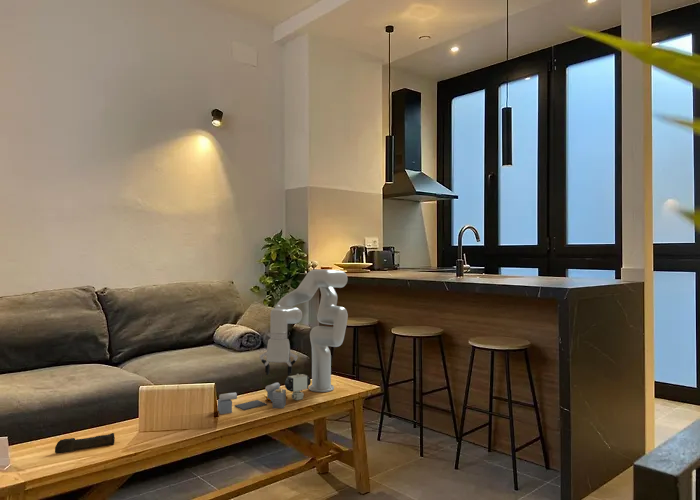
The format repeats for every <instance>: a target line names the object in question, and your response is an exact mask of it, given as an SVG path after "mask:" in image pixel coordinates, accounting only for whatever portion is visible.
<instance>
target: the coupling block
mask: <svg viewBox="0 0 700 500" xmlns="http://www.w3.org/2000/svg"><path fill="white" fill-rule="evenodd" d="M271 402H272V403H271V405H272V408H271V409H284V408H285V407H286V406H287V389H283V388H280V389H275V390H274V391H273V392H272V401H271ZM285 405H286V406H285Z"/></svg>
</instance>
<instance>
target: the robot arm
mask: <svg viewBox="0 0 700 500" xmlns="http://www.w3.org/2000/svg"><path fill="white" fill-rule="evenodd" d="M348 280H349V279H348V275H347V273H346V272H345V271H343V270H333V269H320V268H319V269H315V268H314V269H311V270H309V271H308V272H307V274H306V275H305V276H304V278H303V279H302V281H301V282H300V284H299V285H298V287H297V288H296V289H294V290H291V291H290V292H289V293H287V294H285V295H284V296H283V297H281V298H280V299H279V300H278V302H277V303H276V304H275V306H274V308H272V309H271V310H270V332H269V333H267V334H266V335H267V336H266V337H269V339H268V340H267V344H266V345H267V347H266V352H263V353H262V354H260V355H259V358H260V361H261V363H263V365H264V367H265V368H264V371H265V375H266V376H268V375H270V373H271V372H270V363H286V364H287V365H288V366H287V377H288V376H291V374H292V373H293V368H292V367H293V365H294V364H295V363H296V361H297V360H298V358H299V356H298V355H297V354H295V353H293V352H291V345H290V340H289V338H288V324H290V325H291V324H292V325H293V324H298V323H300V322H301V321H302V319H303V311H302V310H301V309H300V308H298V307H295V306H297V305H300V304H303V303H306V302H309V301H310V300H312V299H313V297H314V296H315V294H316V293H317V291H318V290H319V291H320V294H321V296H320V302H319V306H318V310H317V317H316V319H317V321H318V323H320V324H323V325H325V326H323V325H317V326H314V327H312V329H311V330H310V331H309V339H310V340H309V341H310V345H311V384H310V385H309V387H308V390H309V391H311V392H315V393H327V392H331V391H334V389H335V386H334V385H333V384H332V367H331V366H332V355H331V350H330V348H329V347H333V348H338V347H340V346H341V345H343V342H344V340H345V335H346V329H347V326H348V325H347V324H348V318H349V315H348V311H347V308H345V307H343V306H340V305H337V304H338V294H337V292H336V289H335V288H339V289H341V288H344V287H345V286H346V285H347V283H348ZM326 325H331V326H326ZM332 325H333V326H332ZM265 356H266V359H265V358H264V357H265ZM291 358H293V359H292V361H291Z"/></svg>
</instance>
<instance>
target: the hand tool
mask: <svg viewBox="0 0 700 500" xmlns="http://www.w3.org/2000/svg"><path fill="white" fill-rule="evenodd" d="M115 441H116V439H115V433H114V432H111V433H109V434H101V435H96V436H92V437H85V438H77V439H76V438H75V437H71V438H63V439H60V440H59V441H57V443H56V445H55V447H54V453H56V454H64V453H73V452H74V451H76V450H82V449H87V448H93V447H100V446H107V445H113V446H114V445H115Z"/></svg>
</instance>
